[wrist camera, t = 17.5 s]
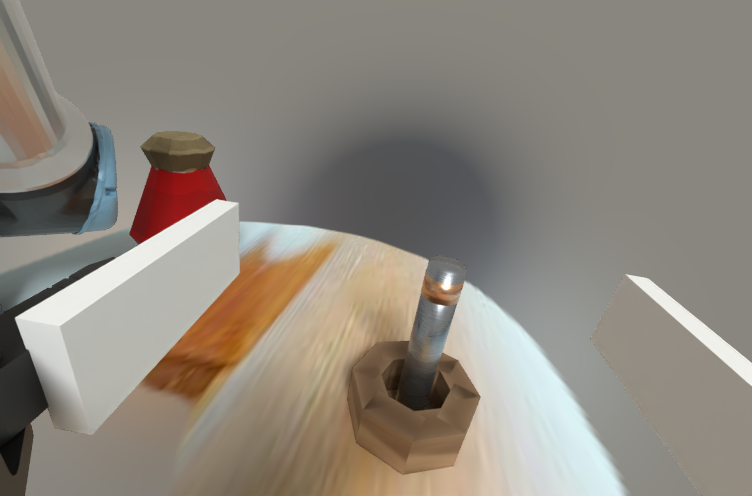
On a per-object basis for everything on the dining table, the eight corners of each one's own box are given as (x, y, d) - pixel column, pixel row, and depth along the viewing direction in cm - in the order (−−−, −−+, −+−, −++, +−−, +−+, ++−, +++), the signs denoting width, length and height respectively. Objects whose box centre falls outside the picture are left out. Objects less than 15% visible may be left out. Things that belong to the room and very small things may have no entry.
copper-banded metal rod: (388, 402, 38) (422, 254, 30) (416, 399, 39) (456, 255, 31) (397, 430, 35) (437, 274, 27) (427, 426, 36) (474, 274, 28)
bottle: (184, 295, 49) (170, 151, 41) (112, 267, 52) (86, 129, 44) (255, 253, 63) (256, 140, 54) (195, 234, 66) (187, 124, 58)
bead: (342, 374, 40) (346, 344, 38) (436, 367, 44) (445, 339, 42) (364, 481, 30) (371, 446, 28) (486, 460, 33) (500, 428, 31)
